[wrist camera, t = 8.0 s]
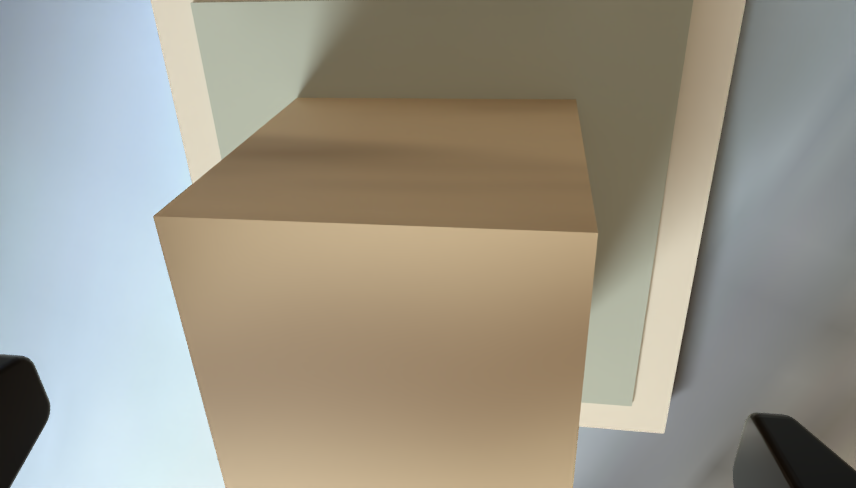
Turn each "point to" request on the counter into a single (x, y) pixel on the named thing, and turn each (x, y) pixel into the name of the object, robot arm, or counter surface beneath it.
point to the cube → (391, 294)
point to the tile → (508, 79)
